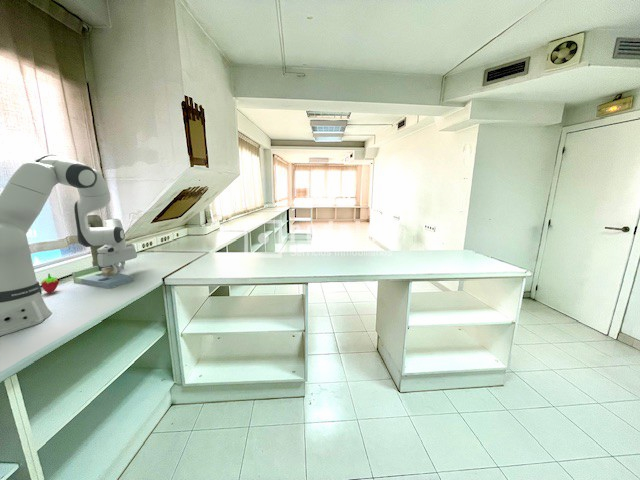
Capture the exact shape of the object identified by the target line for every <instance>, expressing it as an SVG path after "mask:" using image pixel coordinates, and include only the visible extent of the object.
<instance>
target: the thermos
mask: <svg viewBox="0 0 640 480" xmlns="http://www.w3.org/2000/svg"><path fill="white" fill-rule="evenodd" d="M87 218H88V226H89V227H93V228H95V227H103V219H102V218H101V215H99V214H87ZM103 246H104V245H98V246H92V247H89V248H90V253H91V257H92V262H91V263H92V267H94V266H98V267H99V271H102V270H101V269H103V268H102V267H100V266H99V265H98V259H97V256H98V254H99V253H98V252H97V249H99V248H101V247H103Z"/></svg>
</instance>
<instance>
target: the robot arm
mask: <svg viewBox="0 0 640 480" xmlns="http://www.w3.org/2000/svg"><path fill="white" fill-rule="evenodd" d="M57 184H61V185H64V186H67V187H74V188H76V189H77V191H78V195H79V198H78V200H75V203H74V206H73V208H74V210H73V211H74V212H73V213H74V218H75V224H76V225H75V226H76V235H77V237H76V239H77V242H78V244H80V245H81V246H83V247H85V248H90V247H92V246H98V245H104V246H103V247H101V248H99V249H97V252H98V253H99V254H98V256H97V259H98V265H99V266H100V267H107V266H110V265H113V264H114V266H115V267H117V270H119V271H121V270H125V264H126V262H127V261H130V260H135V259H136V258H137V257H138V254H137V253H138V252H137V251H136V247H135V245H134V244H133V243H128V244H127V242H126V239H125V238H126V235H125V230H124V227H123V223H122V221H121V219H119V218H107V219H104V220H102V223H103V227H95V228H93V227H89V226H88V218H87V216H88V215H90V214H91V213H94V212H96V211H99V210H102V209H104V208H105V207H107V206H108V205H109V204H110V202H111V193H110V191H109V187H108V185H107V182H106V180H105V178H104V176H103V175H102V174H101V172H100V171H99V170H97V169H95V168H92V167H90V166H89V165H88V164H85V163H82V162H79V161H76V160H73V159H70V158H68V157H63V156H59V155H56V154H41V155H40V156H37V157H36V158H35V159H34V161H25V162H24V163H22V164H21V165H20V166H19V167H18V168H17V170H15V172H13V174H12V175H11V177H10V178H9V180H8V182H7V183H6V185H5V186H4V188H3V190H2V192H1V193H0V337H2V336H4V335H7V334H10V333H15V332H18V331H20V330H23V329H26V328H30V327H32V326H35V325H38V324H41V323H42V322H44V320H45V319H47V318H48V317H50V315H52V311H51V310H50V309H49V307H48V306H47V304H46V303H45V301H44V298H43V296H42V294H43V292H42V286H41V284H40V282H39V281H38V280H37V277H36V271H35V268H34V265H33V259H32V254H31V250H30V245H29V240H28V237H27V234H28V232H29V230H30V229H31V227H32V225H33V224H34V223H35V221H36V219H37V218H38V216H39V215H40V213H41V212H42V210H43V208H44V207H45V204H46V202H47V201H48V199H49V197H50V196H51V193H52V191H53V188H54V187H55V186H56V185H57Z"/></svg>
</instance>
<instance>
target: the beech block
mask: <svg viewBox="0 0 640 480" xmlns="http://www.w3.org/2000/svg"><path fill="white" fill-rule="evenodd" d="M101 270H102V275H103V276H111V275H114V274H115V270H114V267H106V268H103V269H101Z"/></svg>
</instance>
